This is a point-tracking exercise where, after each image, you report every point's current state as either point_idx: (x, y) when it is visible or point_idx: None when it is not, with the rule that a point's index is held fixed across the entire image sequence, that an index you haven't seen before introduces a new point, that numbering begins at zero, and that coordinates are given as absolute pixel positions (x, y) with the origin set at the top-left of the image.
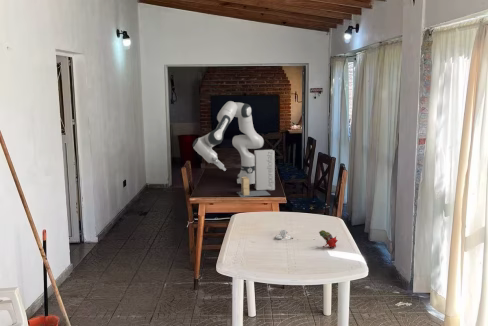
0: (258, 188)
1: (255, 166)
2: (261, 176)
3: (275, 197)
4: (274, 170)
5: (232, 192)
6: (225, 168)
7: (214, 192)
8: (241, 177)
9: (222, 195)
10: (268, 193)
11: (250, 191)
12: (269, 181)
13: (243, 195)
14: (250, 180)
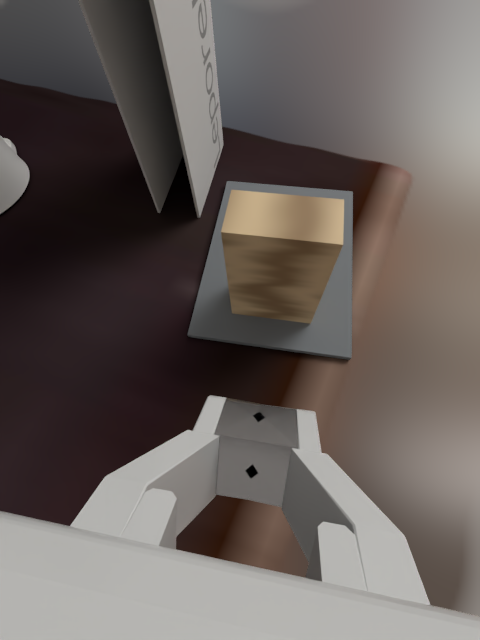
0: (200, 197)
1: (96, 28)
2: (192, 106)
3: (398, 190)
4: (209, 3)
5: (158, 357)
6: (317, 428)
7: (70, 498)
8: (231, 236)
9: None
10: (312, 191)
11: (217, 252)
12: (211, 113)
13: (311, 326)
14: (4, 173)
